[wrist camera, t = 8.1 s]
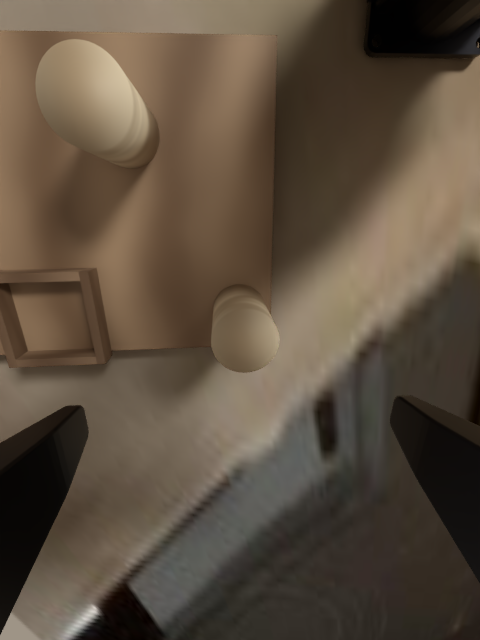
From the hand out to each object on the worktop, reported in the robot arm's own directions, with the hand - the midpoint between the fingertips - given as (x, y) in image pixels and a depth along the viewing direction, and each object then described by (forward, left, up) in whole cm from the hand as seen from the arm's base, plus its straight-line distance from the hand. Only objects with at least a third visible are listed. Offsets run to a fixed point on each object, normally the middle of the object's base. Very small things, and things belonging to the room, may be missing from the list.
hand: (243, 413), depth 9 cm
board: (+9, -5, -12) cm, 16 cm away
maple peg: (0, 0, -10) cm, 11 cm away
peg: (+5, -9, -10) cm, 15 cm away
